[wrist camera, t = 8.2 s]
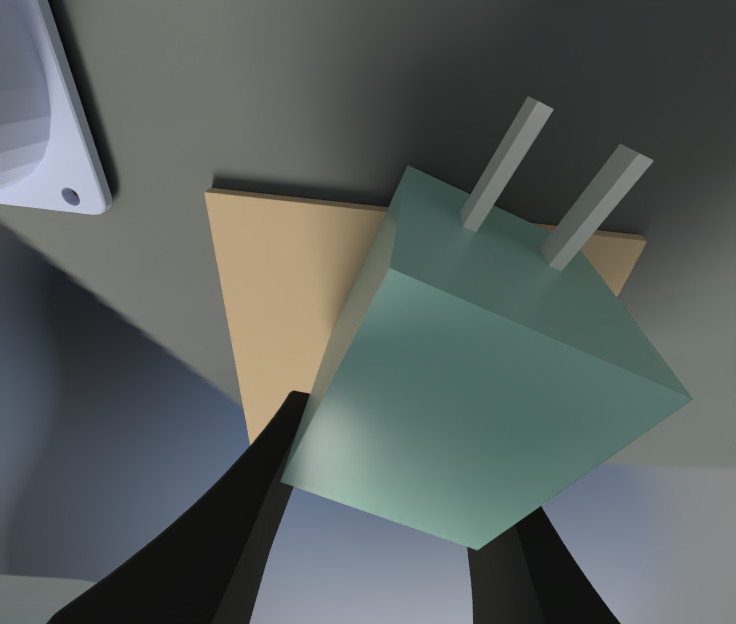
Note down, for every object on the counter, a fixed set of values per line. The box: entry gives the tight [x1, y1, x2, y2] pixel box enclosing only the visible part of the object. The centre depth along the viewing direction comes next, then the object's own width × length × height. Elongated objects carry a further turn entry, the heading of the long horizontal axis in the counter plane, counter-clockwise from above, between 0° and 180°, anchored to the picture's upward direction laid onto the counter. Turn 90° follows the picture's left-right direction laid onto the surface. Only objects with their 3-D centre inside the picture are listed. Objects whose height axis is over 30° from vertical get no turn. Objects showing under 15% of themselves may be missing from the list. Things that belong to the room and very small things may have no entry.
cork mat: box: [204, 188, 647, 445], centre depth 14 cm, size 12×12×1 cm
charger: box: [280, 96, 693, 550], centre depth 9 cm, size 5×8×6 cm, turn 158°
